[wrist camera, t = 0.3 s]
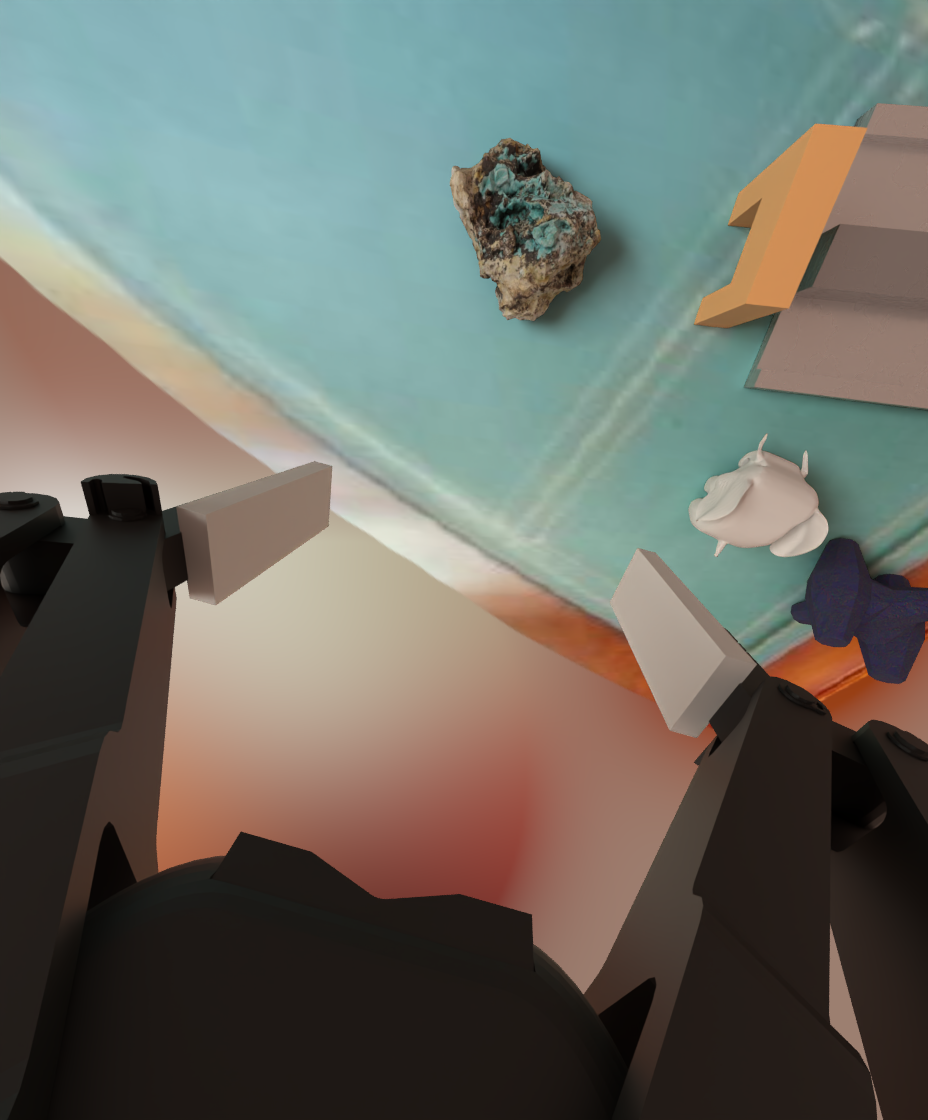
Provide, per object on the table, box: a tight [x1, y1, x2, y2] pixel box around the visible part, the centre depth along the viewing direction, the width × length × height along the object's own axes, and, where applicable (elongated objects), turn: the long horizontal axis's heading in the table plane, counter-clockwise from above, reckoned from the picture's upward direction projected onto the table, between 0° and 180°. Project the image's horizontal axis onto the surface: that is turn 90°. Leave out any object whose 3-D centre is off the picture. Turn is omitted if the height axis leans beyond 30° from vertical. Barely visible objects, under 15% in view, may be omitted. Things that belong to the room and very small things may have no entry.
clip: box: [694, 124, 867, 328], centre depth 27 cm, size 9×3×8 cm, turn 173°
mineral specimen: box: [450, 138, 601, 321], centre depth 29 cm, size 12×9×8 cm
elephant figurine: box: [688, 433, 828, 557], centre depth 34 cm, size 10×12×9 cm
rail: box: [744, 103, 928, 410], centre depth 28 cm, size 18×18×4 cm
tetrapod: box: [791, 538, 928, 684], centre depth 37 cm, size 11×12×11 cm
